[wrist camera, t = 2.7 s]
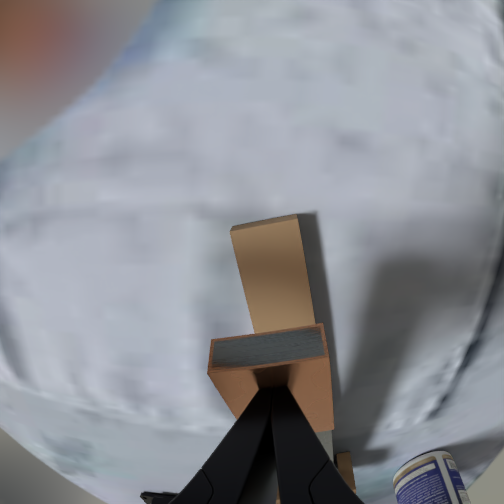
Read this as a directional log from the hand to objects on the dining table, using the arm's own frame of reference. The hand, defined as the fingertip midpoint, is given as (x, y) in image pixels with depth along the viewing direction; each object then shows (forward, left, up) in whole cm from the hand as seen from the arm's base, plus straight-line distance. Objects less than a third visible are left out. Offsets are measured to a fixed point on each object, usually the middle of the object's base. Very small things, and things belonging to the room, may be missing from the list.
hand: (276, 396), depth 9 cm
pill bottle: (-20, -10, -8) cm, 24 cm away
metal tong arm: (-7, 0, -4) cm, 8 cm away
